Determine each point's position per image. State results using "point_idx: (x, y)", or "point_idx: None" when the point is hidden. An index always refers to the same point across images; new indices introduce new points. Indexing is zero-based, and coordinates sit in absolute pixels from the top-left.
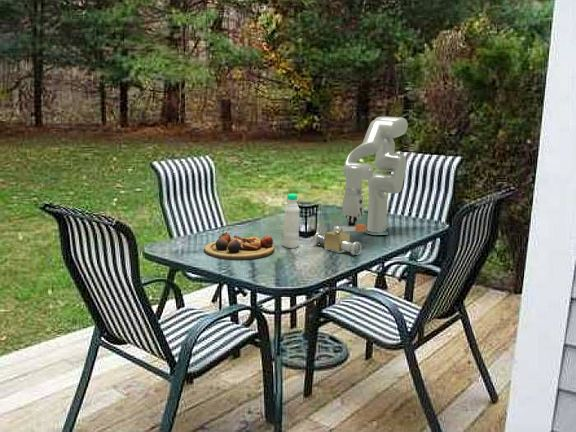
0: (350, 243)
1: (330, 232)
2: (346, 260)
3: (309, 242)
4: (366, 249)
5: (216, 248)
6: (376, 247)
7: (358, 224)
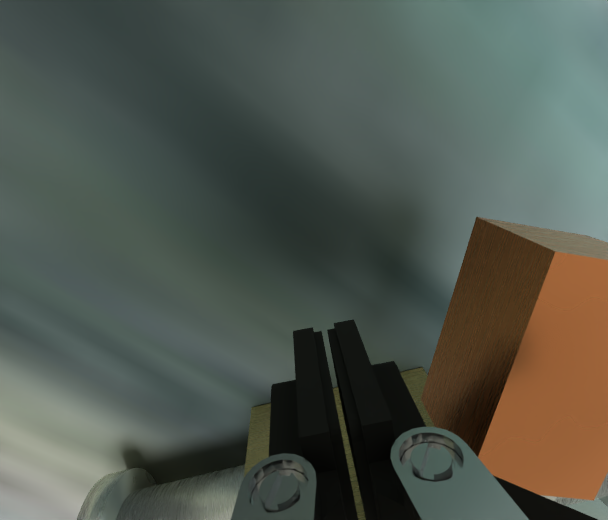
0: (579, 501)
1: None
2: (602, 507)
3: (34, 508)
4: (471, 186)
5: None
6: (473, 18)
7: (532, 405)
